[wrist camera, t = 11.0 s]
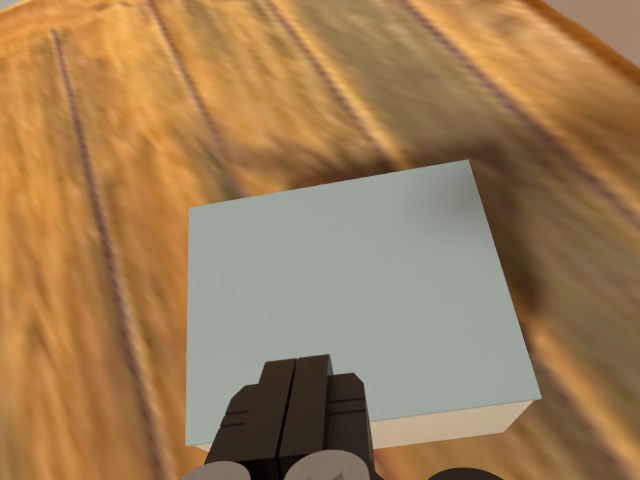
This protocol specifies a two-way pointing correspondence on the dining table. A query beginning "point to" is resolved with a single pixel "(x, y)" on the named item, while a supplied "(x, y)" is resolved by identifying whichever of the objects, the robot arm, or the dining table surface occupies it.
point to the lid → (355, 295)
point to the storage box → (441, 425)
